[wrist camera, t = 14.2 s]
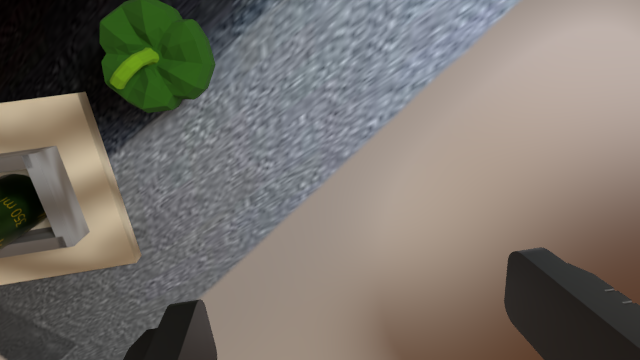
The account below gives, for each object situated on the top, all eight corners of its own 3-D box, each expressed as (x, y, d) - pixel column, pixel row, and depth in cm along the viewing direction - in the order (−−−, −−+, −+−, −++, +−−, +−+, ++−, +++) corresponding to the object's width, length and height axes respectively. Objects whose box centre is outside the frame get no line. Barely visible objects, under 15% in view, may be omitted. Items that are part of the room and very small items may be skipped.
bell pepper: (192, -7, 31) (156, -37, 22) (237, 79, 34) (221, 86, 25) (110, 33, 32) (39, 21, 22) (161, 115, 34) (116, 136, 25)
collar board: (-94, 115, 32) (-151, 123, 28) (85, 91, 33) (57, 96, 29) (-8, 279, 38) (-44, 307, 34) (141, 255, 39) (124, 279, 35)
